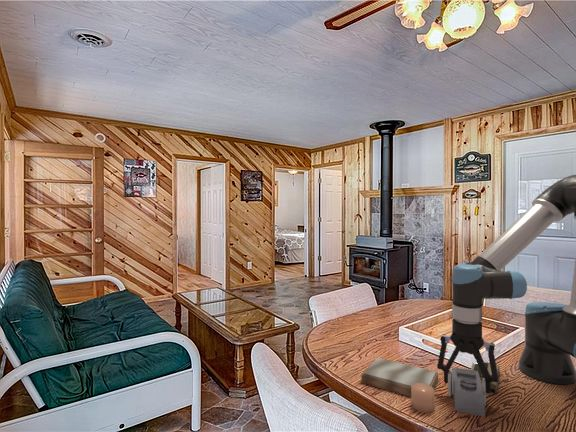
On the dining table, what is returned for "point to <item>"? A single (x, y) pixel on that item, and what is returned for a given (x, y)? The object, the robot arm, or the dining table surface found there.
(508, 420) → the dining table surface
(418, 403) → the beige egg
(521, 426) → the dining table surface
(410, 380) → the stand
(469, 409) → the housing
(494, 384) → the computer
